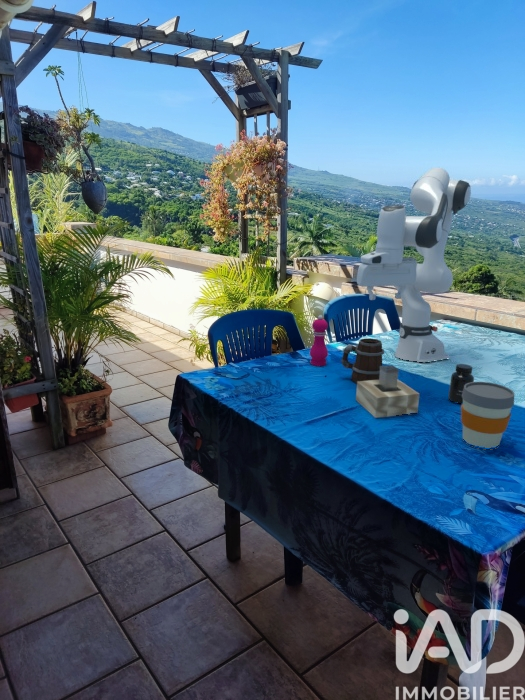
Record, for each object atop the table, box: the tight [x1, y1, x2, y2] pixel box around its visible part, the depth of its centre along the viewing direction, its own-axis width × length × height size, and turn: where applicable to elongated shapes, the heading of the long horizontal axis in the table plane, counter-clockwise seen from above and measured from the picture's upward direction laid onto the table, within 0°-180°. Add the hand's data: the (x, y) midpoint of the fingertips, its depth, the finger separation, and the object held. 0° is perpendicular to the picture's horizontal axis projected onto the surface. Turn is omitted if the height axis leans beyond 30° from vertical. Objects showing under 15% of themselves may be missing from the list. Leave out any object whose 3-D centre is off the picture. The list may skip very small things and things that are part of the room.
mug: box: [340, 337, 385, 385], centre depth 170 cm, size 16×12×15 cm
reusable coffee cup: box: [460, 381, 515, 448], centre depth 125 cm, size 13×13×15 cm
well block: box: [355, 378, 420, 419], centre depth 148 cm, size 14×14×6 cm
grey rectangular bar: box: [378, 364, 400, 392], centre depth 147 cm, size 4×4×12 cm
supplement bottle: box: [447, 363, 475, 403], centre depth 153 cm, size 7×7×12 cm
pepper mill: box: [309, 314, 329, 367], centre depth 187 cm, size 7×7×20 cm
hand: (385, 299), depth 157 cm, fingers open, 8 cm apart
